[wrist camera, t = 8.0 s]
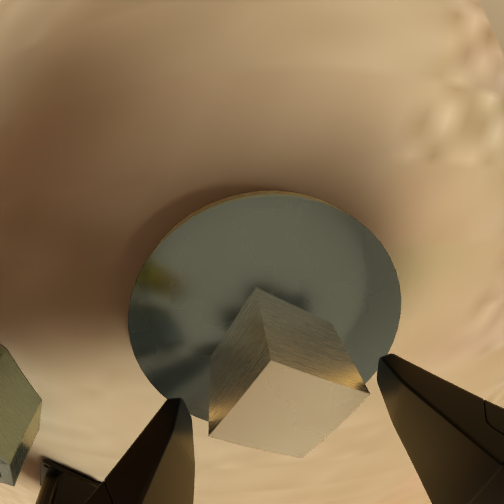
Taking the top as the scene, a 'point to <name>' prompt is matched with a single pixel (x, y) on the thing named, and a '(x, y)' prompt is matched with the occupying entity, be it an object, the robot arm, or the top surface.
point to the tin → (15, 418)
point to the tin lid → (266, 317)
